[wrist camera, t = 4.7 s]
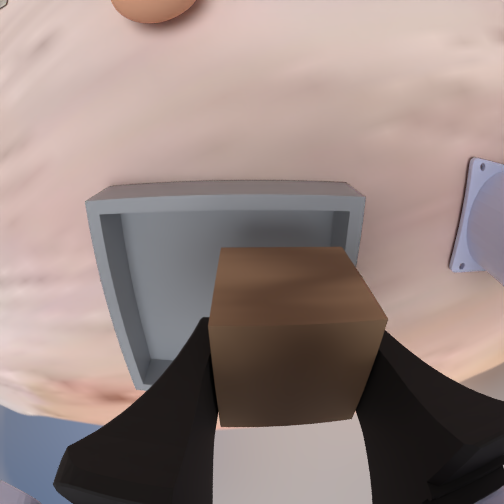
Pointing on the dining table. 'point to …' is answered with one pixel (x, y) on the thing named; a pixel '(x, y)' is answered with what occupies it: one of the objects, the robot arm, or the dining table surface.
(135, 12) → the ball
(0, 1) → the condiment
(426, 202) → the dining table surface
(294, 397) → the cube
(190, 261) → the tray
